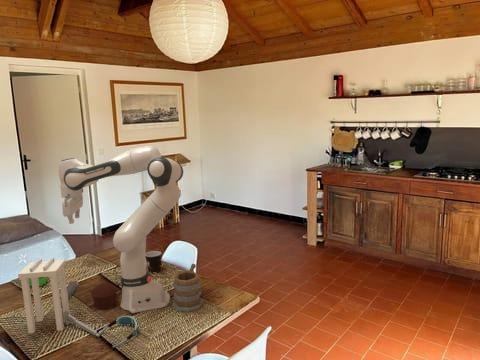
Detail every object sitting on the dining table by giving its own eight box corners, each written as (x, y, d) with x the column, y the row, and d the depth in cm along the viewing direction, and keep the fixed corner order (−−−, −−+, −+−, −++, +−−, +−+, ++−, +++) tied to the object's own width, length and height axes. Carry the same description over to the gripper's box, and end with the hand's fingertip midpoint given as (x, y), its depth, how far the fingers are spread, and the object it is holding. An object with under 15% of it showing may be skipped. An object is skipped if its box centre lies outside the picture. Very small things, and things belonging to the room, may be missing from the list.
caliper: (63, 324, 159) (62, 310, 158) (66, 323, 160) (64, 309, 159) (97, 337, 149) (95, 322, 148) (99, 335, 150) (98, 321, 149)
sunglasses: (145, 332, 151) (143, 322, 150) (113, 355, 141) (110, 344, 139) (125, 321, 160) (123, 311, 159) (93, 341, 150) (91, 331, 148)
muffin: (123, 300, 178) (121, 280, 176) (109, 312, 167) (107, 291, 166) (101, 297, 181) (99, 278, 179) (86, 309, 170) (84, 288, 169)
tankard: (197, 313, 165) (195, 280, 162) (169, 310, 167) (167, 279, 165) (209, 291, 184) (208, 262, 181) (185, 290, 186) (183, 261, 184)
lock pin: (78, 284, 195) (77, 279, 195) (64, 308, 172) (63, 302, 172) (72, 285, 195) (71, 279, 194) (56, 309, 172) (56, 302, 171)
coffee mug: (145, 268, 213) (144, 252, 211) (161, 266, 216) (160, 250, 214) (147, 277, 202) (145, 259, 200) (163, 274, 205) (162, 257, 203)
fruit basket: (50, 281, 201) (48, 261, 199) (40, 289, 192) (37, 268, 190) (30, 281, 202) (28, 261, 200) (19, 288, 193) (16, 268, 191)
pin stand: (71, 315, 166) (64, 256, 161) (63, 330, 154) (55, 267, 149) (37, 318, 164) (29, 258, 159) (26, 334, 152) (17, 270, 147)
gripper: (71, 196, 168) (75, 226, 171) (84, 187, 188) (86, 214, 190) (57, 197, 167) (60, 227, 170) (70, 188, 187) (73, 215, 190)
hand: (74, 220), depth 180 cm, fingers open, 8 cm apart
